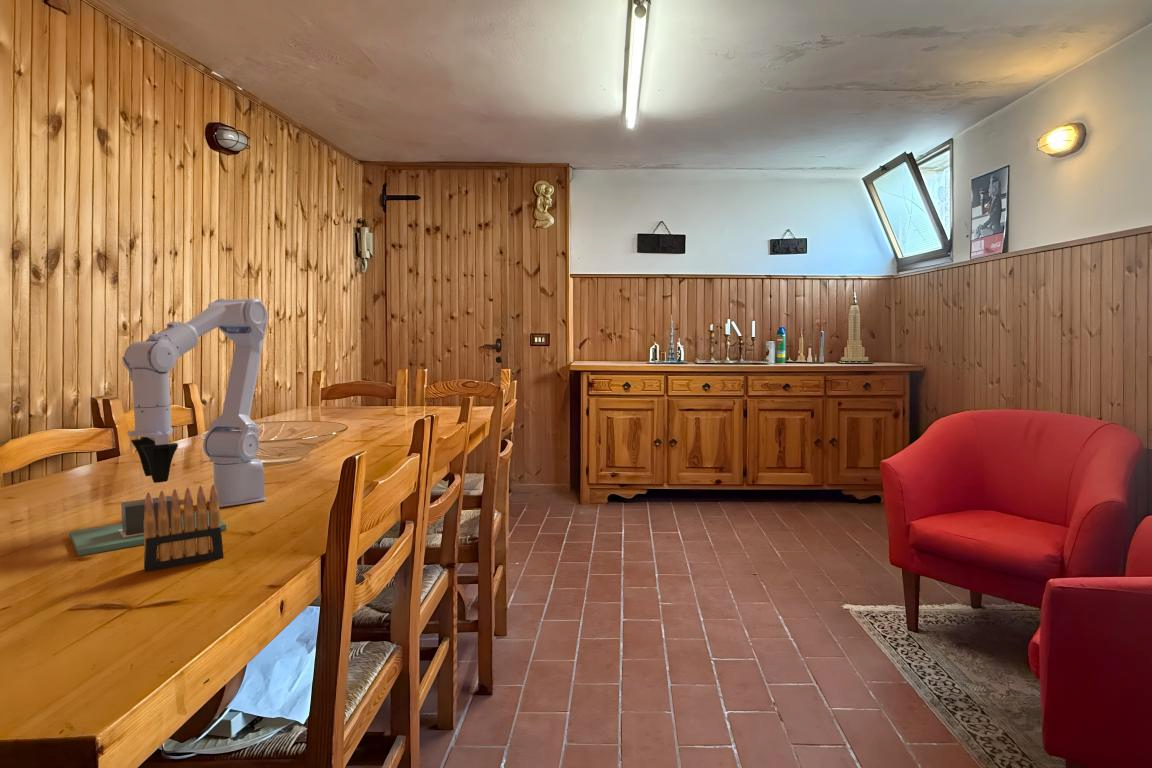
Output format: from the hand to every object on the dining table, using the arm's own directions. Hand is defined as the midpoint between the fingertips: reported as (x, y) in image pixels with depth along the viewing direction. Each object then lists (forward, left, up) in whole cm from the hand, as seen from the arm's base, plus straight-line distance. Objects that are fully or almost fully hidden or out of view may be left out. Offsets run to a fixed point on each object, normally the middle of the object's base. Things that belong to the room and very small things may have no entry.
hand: (156, 478), depth 124 cm
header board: (+2, +4, -9) cm, 10 cm away
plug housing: (+1, +5, -8) cm, 9 cm away
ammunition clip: (+1, +26, -10) cm, 28 cm away
